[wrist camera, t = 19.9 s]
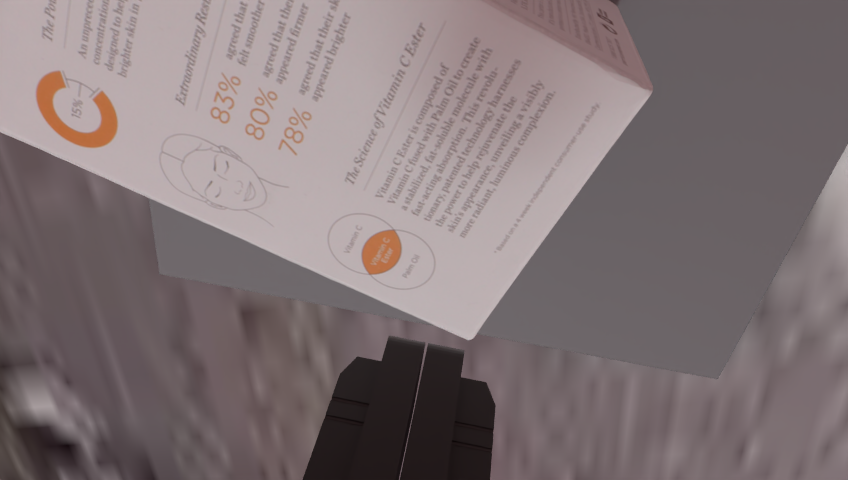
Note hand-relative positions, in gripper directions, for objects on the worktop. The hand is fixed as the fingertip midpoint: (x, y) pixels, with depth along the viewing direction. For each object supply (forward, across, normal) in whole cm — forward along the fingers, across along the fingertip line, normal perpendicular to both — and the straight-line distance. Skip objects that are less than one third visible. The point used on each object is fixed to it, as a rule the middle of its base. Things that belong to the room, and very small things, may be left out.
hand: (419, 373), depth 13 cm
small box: (+7, -2, -1) cm, 7 cm away
